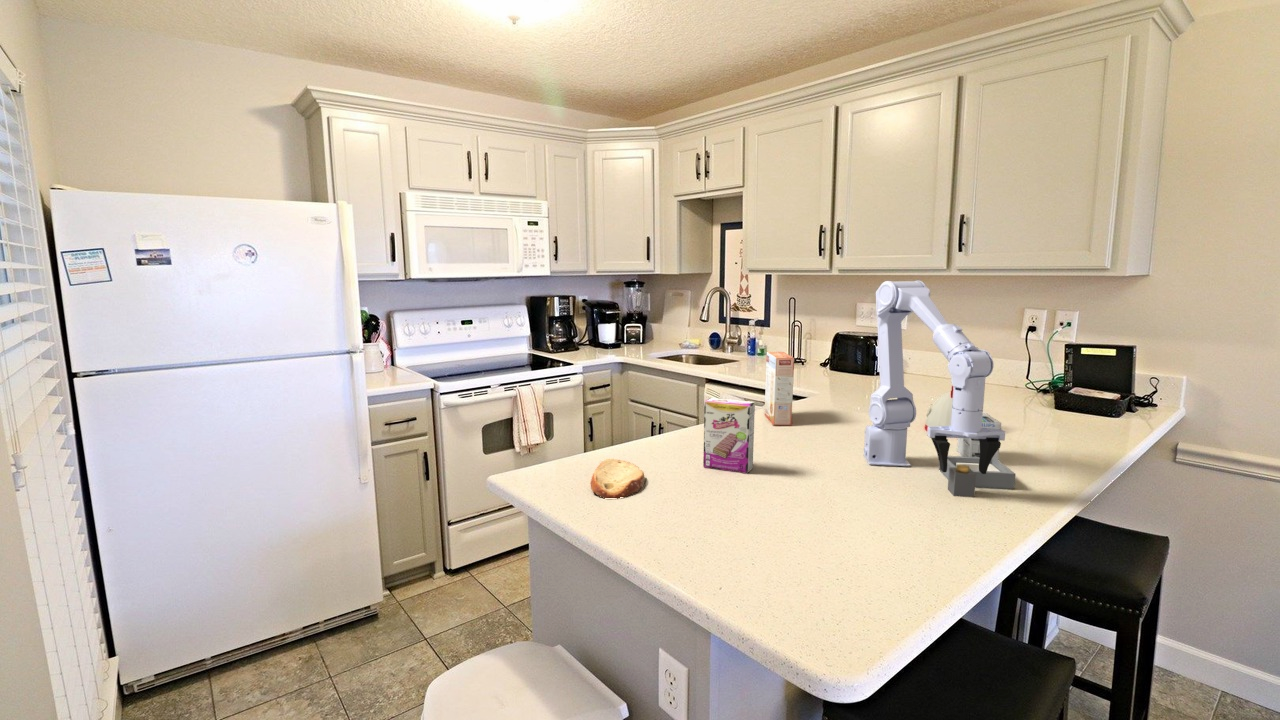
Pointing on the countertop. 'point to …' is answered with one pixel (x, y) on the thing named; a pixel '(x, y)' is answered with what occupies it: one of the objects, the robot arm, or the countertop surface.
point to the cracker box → (779, 388)
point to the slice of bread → (616, 479)
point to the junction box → (994, 476)
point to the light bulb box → (972, 446)
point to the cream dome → (940, 411)
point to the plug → (961, 481)
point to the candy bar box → (728, 434)
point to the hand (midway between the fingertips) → (962, 471)
